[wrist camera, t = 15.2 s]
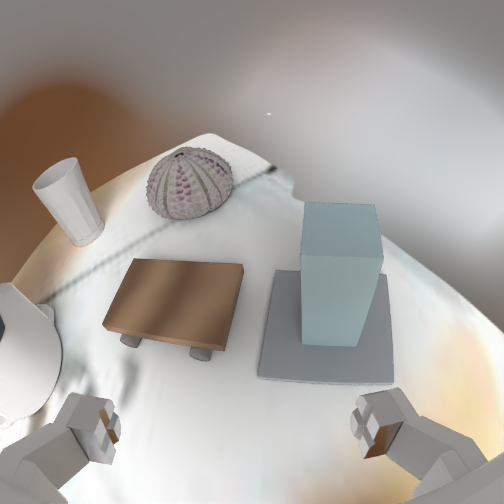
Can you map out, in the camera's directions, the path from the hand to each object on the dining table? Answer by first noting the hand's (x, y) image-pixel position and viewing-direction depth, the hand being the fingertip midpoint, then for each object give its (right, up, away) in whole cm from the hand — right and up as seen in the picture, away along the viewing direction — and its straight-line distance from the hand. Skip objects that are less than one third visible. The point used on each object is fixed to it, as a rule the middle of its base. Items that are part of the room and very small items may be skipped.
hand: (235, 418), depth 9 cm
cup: (-26, +8, +35) cm, 45 cm away
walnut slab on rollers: (-7, -1, +23) cm, 24 cm away
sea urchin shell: (-8, +13, +37) cm, 40 cm away
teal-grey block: (+8, -1, +19) cm, 21 cm away
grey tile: (+8, -2, +19) cm, 21 cm away
